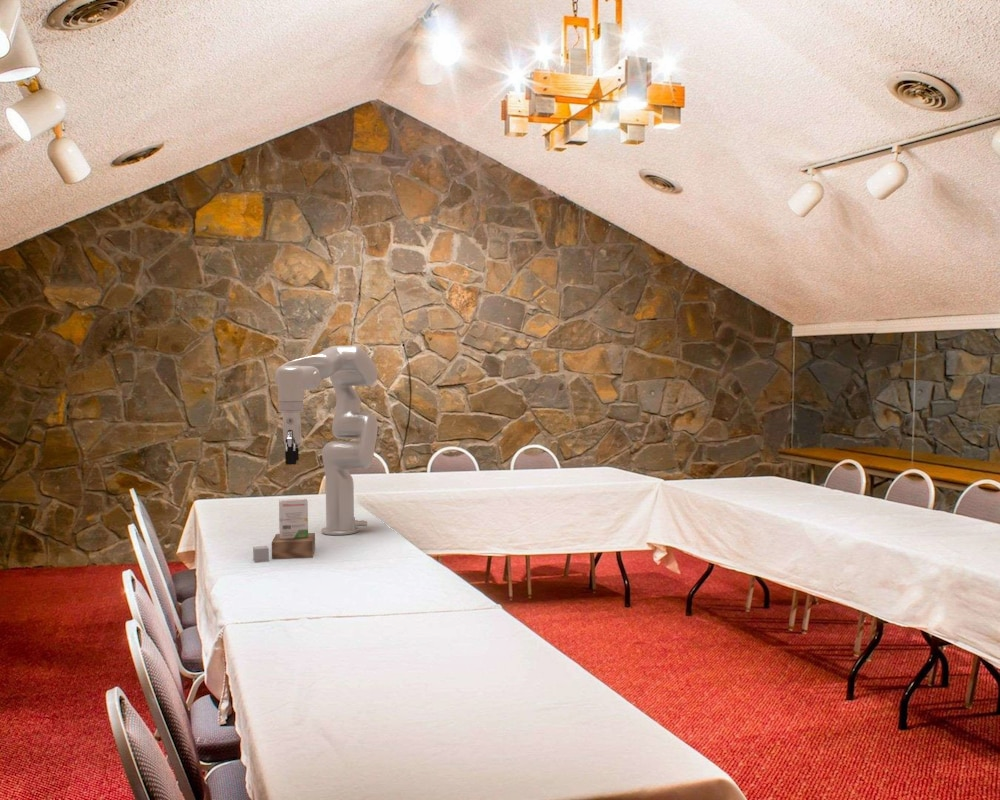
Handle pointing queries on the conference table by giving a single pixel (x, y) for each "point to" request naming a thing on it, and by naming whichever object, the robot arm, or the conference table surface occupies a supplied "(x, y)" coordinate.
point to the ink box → (293, 518)
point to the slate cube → (261, 554)
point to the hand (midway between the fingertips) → (292, 462)
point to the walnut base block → (293, 547)
